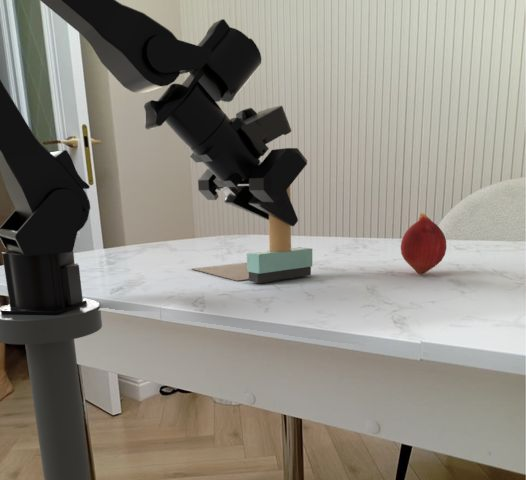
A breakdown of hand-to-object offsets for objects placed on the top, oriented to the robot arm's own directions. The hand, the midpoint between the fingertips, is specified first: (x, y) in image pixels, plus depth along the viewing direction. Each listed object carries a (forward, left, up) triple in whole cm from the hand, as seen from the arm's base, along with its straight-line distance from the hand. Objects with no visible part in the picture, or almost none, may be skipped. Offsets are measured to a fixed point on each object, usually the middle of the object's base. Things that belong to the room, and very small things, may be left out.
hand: (288, 222), depth 77 cm
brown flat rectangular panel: (-8, +6, -7) cm, 12 cm away
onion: (+17, +4, -7) cm, 19 cm away
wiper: (-1, -1, -7) cm, 7 cm away
